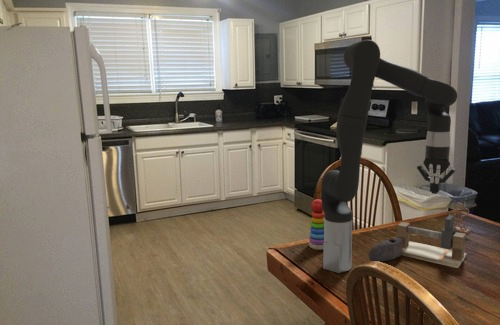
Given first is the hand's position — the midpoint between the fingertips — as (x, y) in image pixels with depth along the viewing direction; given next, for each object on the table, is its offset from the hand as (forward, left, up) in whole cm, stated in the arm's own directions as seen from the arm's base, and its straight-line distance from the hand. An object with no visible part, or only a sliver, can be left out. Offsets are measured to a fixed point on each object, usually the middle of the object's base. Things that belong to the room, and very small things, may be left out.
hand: (434, 193), depth 149 cm
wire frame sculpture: (+32, -1, -23) cm, 40 cm away
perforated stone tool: (-13, +12, -23) cm, 29 cm away
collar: (0, -5, -18) cm, 19 cm away
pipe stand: (0, +1, -23) cm, 23 cm away
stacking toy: (-16, +37, -23) cm, 46 cm away
